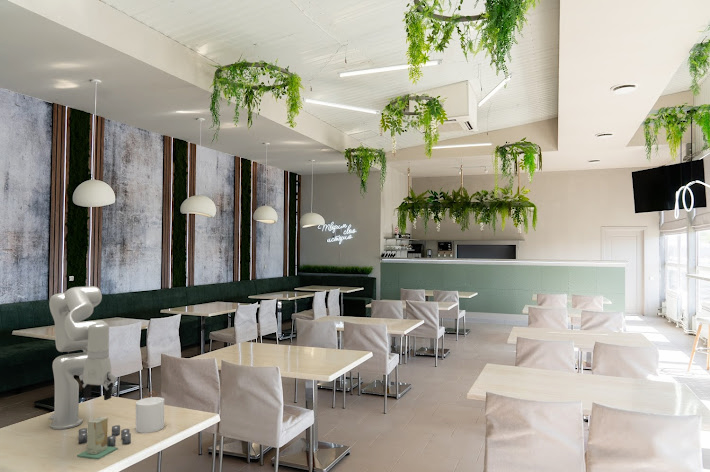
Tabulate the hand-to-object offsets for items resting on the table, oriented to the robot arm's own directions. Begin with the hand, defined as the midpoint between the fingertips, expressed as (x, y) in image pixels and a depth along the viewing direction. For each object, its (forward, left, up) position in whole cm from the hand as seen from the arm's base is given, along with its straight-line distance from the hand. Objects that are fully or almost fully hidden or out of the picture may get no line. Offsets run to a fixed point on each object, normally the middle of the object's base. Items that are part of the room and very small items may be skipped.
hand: (97, 398), depth 194 cm
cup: (+4, +26, -21) cm, 34 cm away
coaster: (+2, -2, -21) cm, 21 cm away
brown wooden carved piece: (-5, +39, -21) cm, 45 cm away
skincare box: (+1, -1, -20) cm, 20 cm away
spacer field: (-5, +9, -21) cm, 23 cm away
